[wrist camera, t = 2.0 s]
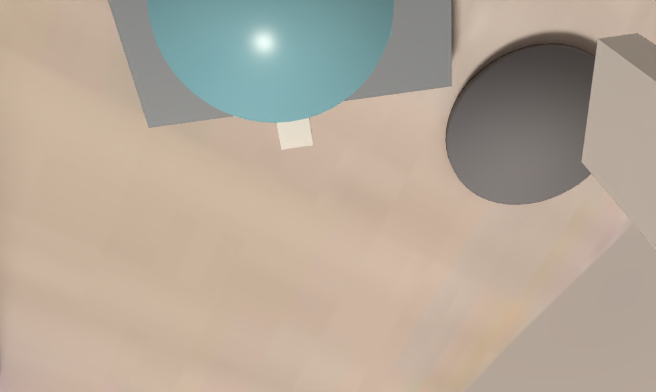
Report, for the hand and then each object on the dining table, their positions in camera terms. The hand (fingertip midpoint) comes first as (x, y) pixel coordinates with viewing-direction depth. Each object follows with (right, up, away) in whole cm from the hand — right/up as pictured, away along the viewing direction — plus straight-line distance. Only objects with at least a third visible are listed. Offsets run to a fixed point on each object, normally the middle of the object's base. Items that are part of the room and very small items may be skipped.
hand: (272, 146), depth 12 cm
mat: (+13, +3, +23) cm, 26 cm away
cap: (-1, +8, +12) cm, 14 cm away
